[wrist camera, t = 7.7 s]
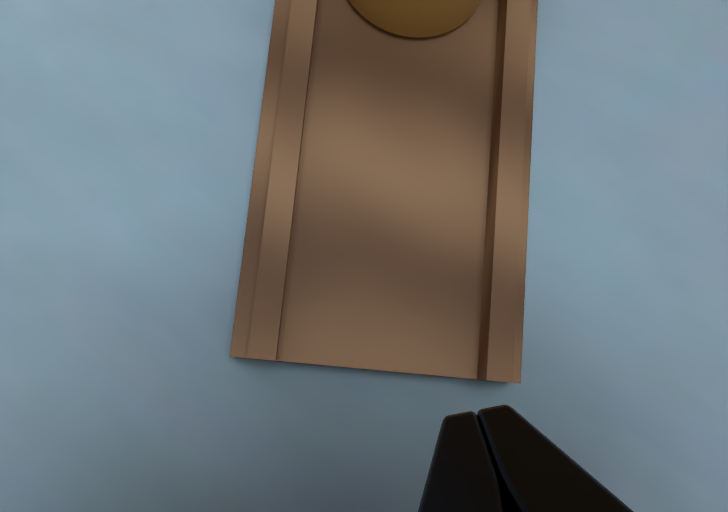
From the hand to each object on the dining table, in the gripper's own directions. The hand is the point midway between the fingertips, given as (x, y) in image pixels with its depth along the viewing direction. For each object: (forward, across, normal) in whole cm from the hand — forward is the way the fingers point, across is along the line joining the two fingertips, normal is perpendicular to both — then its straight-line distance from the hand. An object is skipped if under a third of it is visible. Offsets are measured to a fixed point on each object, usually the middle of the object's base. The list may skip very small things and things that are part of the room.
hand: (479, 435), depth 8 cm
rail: (+16, 0, -1) cm, 16 cm away
